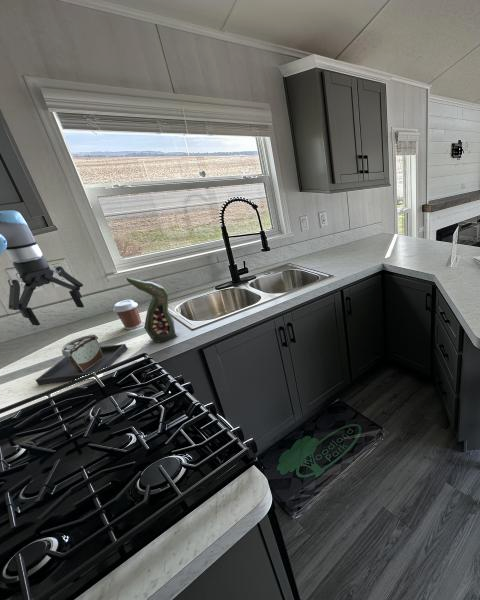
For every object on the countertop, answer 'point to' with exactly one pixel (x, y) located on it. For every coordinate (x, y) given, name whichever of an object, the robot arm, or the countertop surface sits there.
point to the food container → (83, 352)
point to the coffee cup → (128, 313)
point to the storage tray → (68, 372)
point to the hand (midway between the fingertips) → (59, 315)
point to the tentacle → (156, 311)
